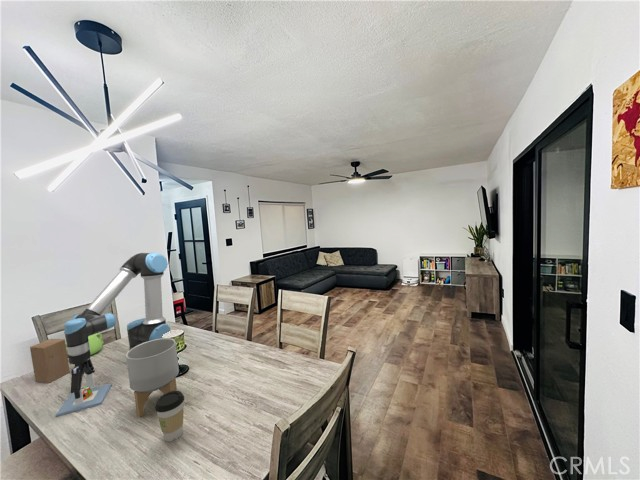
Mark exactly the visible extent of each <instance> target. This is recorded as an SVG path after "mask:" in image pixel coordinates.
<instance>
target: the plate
mask: <svg viewBox="0 0 640 480" xmlns="http://www.w3.org/2000/svg"><path fill="white" fill-rule="evenodd" d="M112 386H113V384H112V382H110V383H107V384H104V385H99V386H94V387H90V388H91V391H92V393H93V394H92V395H91V396H89V397H88V398H86V399H85V400H84V403H83V404H79V405H75V399H74V393H70V394H69V396H68V397H67V399H66V400H65V402H64V403H63V404H62V405H61V407H60V408H59V409H58V411H57V412H56V414H55V416H54V417H55V418H56V417H58V418H59V417H61V416H65V415H68V414H71V413H76V412H78V411H81V410H86V409H89V408H92V407H96V406H99V405H103V402H104V401H105V398H106V396H107V395H108V393H109V391H110V390H111V387H112Z"/></svg>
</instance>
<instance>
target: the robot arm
mask: <svg viewBox="0 0 640 480" xmlns="http://www.w3.org/2000/svg"><path fill="white" fill-rule="evenodd" d="M167 268H168V260H167V258H166V257H165V255H163V254H162V253H159V252H140V253H136V254H134V255H133V256H130V258H128V260H126V261H125V262H124V263H123V264H122V265H121V266H120V268H119V272H118V273H117V274H116V275H115V276H114V277H113V278H112V279H111V280H110V281H109V282H108V284H106V286H105V287H104V288H103V290H101V292H100V293H99V294H98V295H97V296H96V297H95V298H94V299H93V301H91V303H90V304H89V305H87V307H86V308H85V310H83V311H82V313H78V314H76V315H74V316H73V317H72V318H71V319H70V320H68V321H65V323H64V325H63V330H64V331H63V332H64V337H65V344H67V348H66V350H68V353H67V357H68V364H70V365H74V367H73V368H72V369H71V370H70V372H71V375H70V376H71V377H70V380H71V381H70V392H69V393H70V394H71V393H74V399H75V405H79V404H83V403H84V400H83V393H82V389H81V388H82V381H83V376H84V374H85V376H84V377H85V384H86V386H88V387H90V388H95V380H94V374H93V373H96V370H95V367H94V365H93V363H92V360H91V354H90V350H89V349H90V346H89V340H88V336H91V335H95V334H97V333H101V332H104V331H106V330H109V329H111V328H114V327H115V326H116V323H117V319H116V317H115V315H114V314H113V313H112V312H111V313H105V311H106V310H107V309H108V307H109V306H111V304H112V303H113V302H114V300H115V299H116V298H117V297H118V296H119V295H120V293H121V292H123V290H124V289H125V287H126V286H127V285H128V284H129V283H130V282H131V281H132V279H135V278H137V276H138V275H139V274H140V277H141V278H142V279H143V286H144V287H143V288H144V303H145V304H144V306H145V307H144V309H145V317H143V318H139V319H135V320H133V321H131V322H129V323H127V325H126V331H127V337H128V338H127V340H128V345H129V346H128V347H129V348H128V351H129V350H131V349H132V348H134V347H135V346H137V345H140V344H142V343H145V342H148V341H151V340H155V339H161V338H162V336H163V334H165V333H167V332H169V331H170V332H171V326H170V325H169V324H167V321H166V318H165V317H164V316H163V299H162V292H163V291H162V277H163V276H164V271H166V270H167ZM103 313H104V314H103ZM102 314H103V315H102Z"/></svg>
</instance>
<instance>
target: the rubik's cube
mask: <svg viewBox="0 0 640 480" xmlns="http://www.w3.org/2000/svg"><path fill="white" fill-rule="evenodd" d="M91 388H92V387H88V386H87V385H86V386H84V387H81V389H82V393H83V400H85V399H86V398H88V397H89V396H91V395H92V394H93V393H92V391H91Z"/></svg>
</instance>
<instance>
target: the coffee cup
mask: <svg viewBox="0 0 640 480" xmlns="http://www.w3.org/2000/svg"><path fill="white" fill-rule="evenodd" d="M184 401H185V395H184V393H183V392H182V391H181V390H175V391H171V392H168V393H166V394H164V393H163V394H162V395H161V396H160V397H158V398H157V400H156V403H155V405H154V411H156V413H157V415H156V416H157V419H158V422H159V427H160V430H161V432H162V435H163V438H164V441H165V442H168V441H169V442H173V441H176V440H177V439H179V438H180V437H181V436H182V435H183V432H184V430H183V428H184V406H185V405H184ZM178 437H179V438H178ZM175 439H176V440H175ZM172 440H173V441H172Z"/></svg>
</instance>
